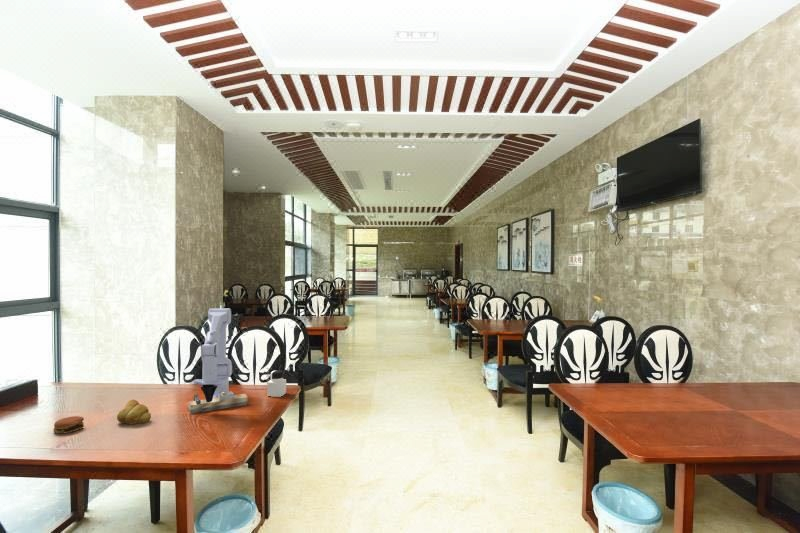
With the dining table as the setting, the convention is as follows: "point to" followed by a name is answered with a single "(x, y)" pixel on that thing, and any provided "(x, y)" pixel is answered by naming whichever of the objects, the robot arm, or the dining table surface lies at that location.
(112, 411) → the dining table surface
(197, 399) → the lever
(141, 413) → the bread roll
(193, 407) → the plane body
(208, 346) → the robot arm
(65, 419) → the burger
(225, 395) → the lever cap
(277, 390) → the grey padlock
